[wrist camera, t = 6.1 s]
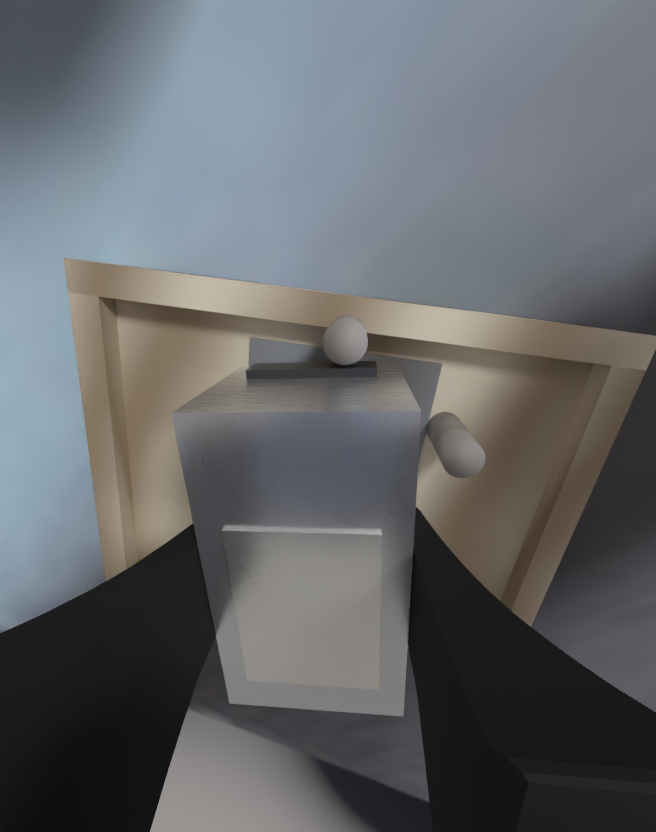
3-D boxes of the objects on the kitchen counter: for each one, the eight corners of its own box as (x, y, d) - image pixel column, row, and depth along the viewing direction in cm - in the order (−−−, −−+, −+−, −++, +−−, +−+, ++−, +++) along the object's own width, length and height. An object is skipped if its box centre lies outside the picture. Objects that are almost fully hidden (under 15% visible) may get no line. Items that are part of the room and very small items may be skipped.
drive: (397, 355, 11) (423, 400, 6) (390, 586, 14) (403, 720, 10) (240, 359, 11) (165, 402, 7) (267, 581, 14) (228, 707, 10)
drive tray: (613, 329, 12) (719, 345, 8) (495, 624, 17) (531, 711, 13) (107, 263, 13) (11, 252, 9) (135, 564, 17) (78, 633, 14)
